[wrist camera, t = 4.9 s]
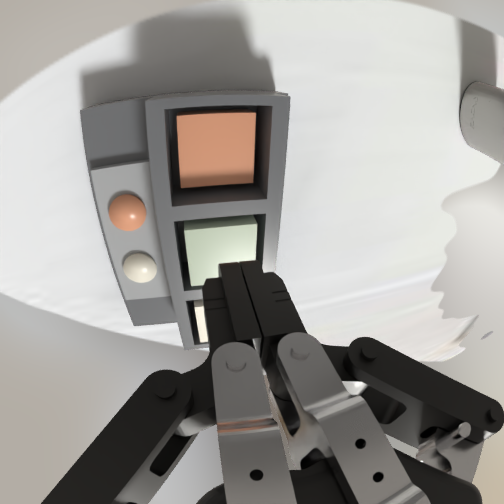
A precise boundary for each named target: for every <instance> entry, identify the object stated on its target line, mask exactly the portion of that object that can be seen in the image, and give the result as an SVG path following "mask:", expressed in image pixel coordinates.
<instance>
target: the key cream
mask: <svg viewBox="0 0 504 504" xmlns="http://www.w3.org/2000/svg"><path fill="white" fill-rule="evenodd" d="M194 307H195V314H196V320H197V326H198V331H199V337H200V342H208V337H207V331H206V324H205V317H204V307H203V299H198V300H194Z"/></svg>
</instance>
